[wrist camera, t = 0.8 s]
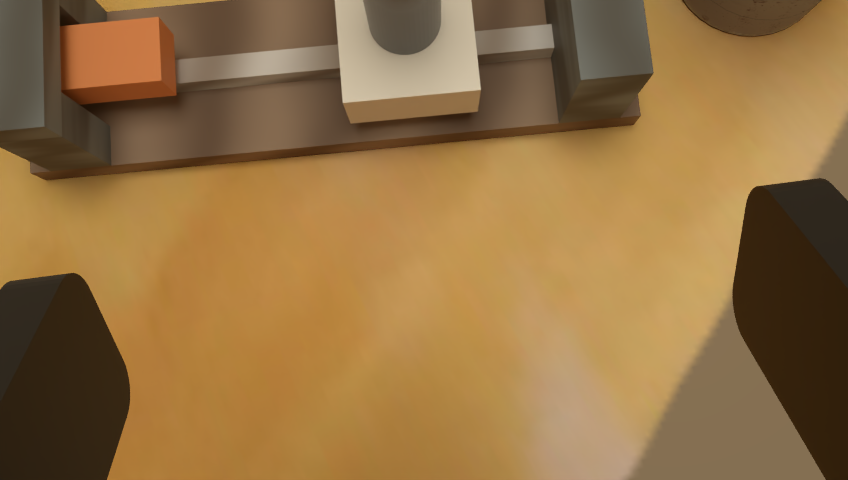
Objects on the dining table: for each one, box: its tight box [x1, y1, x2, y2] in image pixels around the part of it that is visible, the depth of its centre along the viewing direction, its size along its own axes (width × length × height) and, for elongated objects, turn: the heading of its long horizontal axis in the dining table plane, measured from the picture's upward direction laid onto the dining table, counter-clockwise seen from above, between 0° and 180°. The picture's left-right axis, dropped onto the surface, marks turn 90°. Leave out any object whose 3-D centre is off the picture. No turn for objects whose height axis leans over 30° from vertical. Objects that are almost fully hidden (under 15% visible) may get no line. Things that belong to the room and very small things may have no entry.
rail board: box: [0, 0, 653, 180], centre depth 36 cm, size 30×8×8 cm, turn 95°
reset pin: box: [60, 17, 177, 105], centre depth 36 cm, size 5×3×2 cm, turn 95°
